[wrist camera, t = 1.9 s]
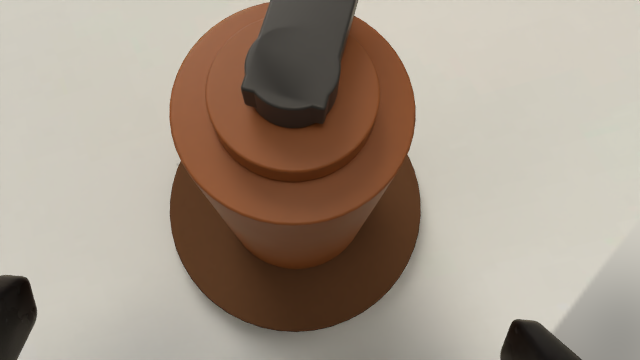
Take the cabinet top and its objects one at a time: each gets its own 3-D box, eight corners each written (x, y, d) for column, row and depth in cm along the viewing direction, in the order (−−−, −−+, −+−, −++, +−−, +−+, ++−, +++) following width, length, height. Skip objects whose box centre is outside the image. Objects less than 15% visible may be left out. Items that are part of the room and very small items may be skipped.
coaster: (390, 361, 19) (392, 363, 19) (136, 293, 20) (131, 292, 19) (437, 124, 23) (441, 119, 22) (217, 69, 23) (215, 62, 22)
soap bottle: (347, 285, 20) (405, 242, 9) (209, 248, 20) (98, 162, 9) (380, 143, 22) (463, -39, 11) (254, 110, 22) (208, -100, 11)
